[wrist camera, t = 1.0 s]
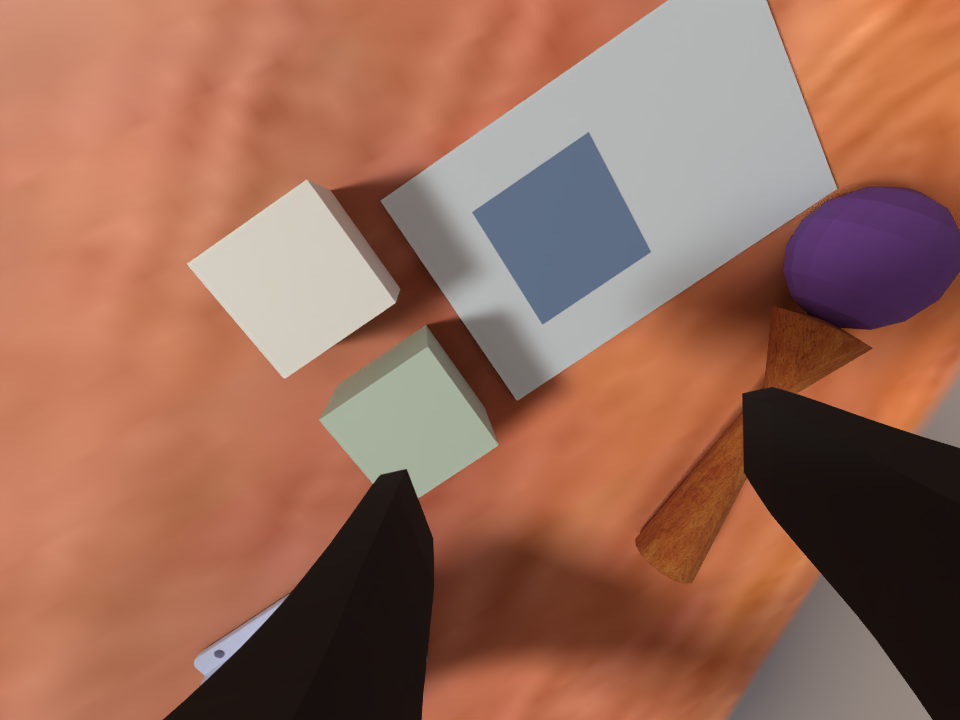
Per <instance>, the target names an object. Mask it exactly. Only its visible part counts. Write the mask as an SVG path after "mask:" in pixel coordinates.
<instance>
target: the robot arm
mask: <svg viewBox="0 0 960 720" xmlns="http://www.w3.org/2000/svg"><path fill="white" fill-rule="evenodd" d="M742 399H743V460H744V473H745V475H746V477H747V478H748V480H749V481H750V483H751V485H752V486H753V488H754V489H755V491H756V493H757V494H758V496H759V497H760V499H761V500H762V502H763V503H764V505H765V506H766V508H767V509H768V510H769V512H770V513H771V515H772V516H773V517H774V518H775V520H776V521H777V522H778V523H779V524H780V526H781V527H782V528H783V529H784V530H785V532H786V533H787V534H788V535H789V536H790V538H791V539H792V540H793V541H794V542H795V543H796V545H797V546H798V547H799V548H800V549H801V551H802V552H803V553H804V554H805V555H806V556H807V558H808V559H809V560H810V561H811V562H812V563H813V565H814V566H815V567H816V568H817V569H818V570H819V571H820V573H821V574H822V575H823V576H824V577H825V578H826V580H827V581H828V582H829V583H830V584H831V585H832V587H833V588H834V589H835V590H836V591H837V592H838V594H839V595H840V596H841V597H842V598H843V599H844V601H845V602H846V603H847V604H848V605H849V606H850V608H851V609H852V610H853V611H854V612H855V614H856V615H857V616H858V617H859V619H860V620H861V621H862V622H863V624H864V625H865V626H866V627H867V629H868V630H869V631H870V632H871V634H872V635H873V636H874V637H875V639H876V640H877V641H878V643H879V644H880V646H881V647H882V648H883V650H884V651H885V653H886V654H887V655H888V657H889V658H890V660H891V661H892V662H893V664H894V665H895V666H896V668H897V669H898V671H899V672H900V674H901V675H902V676H903V678H904V679H905V681H906V682H907V683H908V685H909V686H910V688H911V689H912V690H913V692H914V693H915V695H916V696H917V697H918V699H919V700H920V702H921V703H922V705H923V706H924V707H925V709H926V711H927V712H928V714H929V715H930V716H931V718H932V719H933V720H960V448H957V447H954V446H951V445H947V444H944V443H940V442H938V441H934V440H931V439H928V438H924V437H921V436H918V435H915V434H912V433H909V432H906V431H903V430H900V429H897V428H894V427H891V426H888V425H885V424H882V423H879V422H876V421H873V420H870V419H867V418H864V417H861V416H858V415H856V414H853V413H850V412H847V411H844V410H841V409H838V408H836V407H833V406H830V405H827V404H824V403H821V402H819V401H816V400H813V399H810V398H807V397H804V396H801V395H798V394H795V393H792V392H789V391H786V390H782V389H779V388H775V387H769V388H765V389H760V390H756V391H752V392H747V393H743V394H742ZM433 591H434V550H433V537H432V534H431V531H430V529H429V526H428V524H427V521H426V518H425V516H424V513H423V510H422V508H421V505H420V502H419V500H418V497H417V494H416V492H415V489H414V486H413V484H412V481H411V479H410V476H409V473H408V471H407V469H404V470H399V471H395V472H390V473H386V474H381V475H379V477H378V478H377V479H376V481H375V482H374V483H373V485H372V486H371V488H370V489H369V490H368V492H367V493H366V495H365V496H364V497H363V499H362V500H361V502H360V503H359V505H358V506H357V507H356V509H355V510H354V512H353V513H352V514H351V516H350V517H349V519H348V520H347V521H346V523H345V524H344V525H343V527H342V528H341V530H340V531H339V532H338V534H337V535H336V536H335V538H334V539H333V540H332V542H331V543H330V545H329V546H328V547H327V549H326V550H325V551H324V552H323V554H322V555H321V556H320V557H319V559H318V560H317V561H316V562H315V564H314V565H313V566H312V567H311V568H310V570H309V571H308V572H307V573H306V575H305V576H304V577H303V578H302V580H301V581H300V582H299V583H298V585H297V586H296V587H295V588H294V590H293V591H292V592H291V593H290V594H288V595H287V596H285V597H284V598H282V599H281V600H279V601H278V602H276V603H275V604H273V605H272V606H270V607H268V608H267V609H265V610H264V611H262V612H261V613H259V614H258V615H256V616H255V617H253V618H252V619H250V620H249V621H247V622H246V623H244V624H243V625H241V626H240V627H238V628H237V629H235V630H234V631H232V632H230V633H229V634H227V635H226V636H224V637H223V638H221V639H220V640H218V641H217V642H215V643H214V644H212V645H211V646H209V647H208V648H206V649H205V650H203V651H202V652H200V653H199V654H198V655H197V657H196V659H195V661H194V666H195V667H196V668H197V669H198V670H199V671H200V672H201V673H202V674H203V675H205V676H204V678H203V681H202V683H201V685H200V687H199V688H198V689H197V690H195V691H194V692H193V693H192V694H191V695H190V696H189V697H188V698H187V699H186V700H185V701H184V702H183V703H181V704H180V705H179V706H178V707H177V708H176V709H175V710H173V711H172V712H171V713H170V714H169V715H168V716H167V717H165V718H164V719H163V720H421V719H422V703H423V691H424V681H425V671H426V662H427V652H428V642H429V632H430V623H431V612H432V602H433ZM219 650H222V651H224V652H221V651H219Z"/></svg>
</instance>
